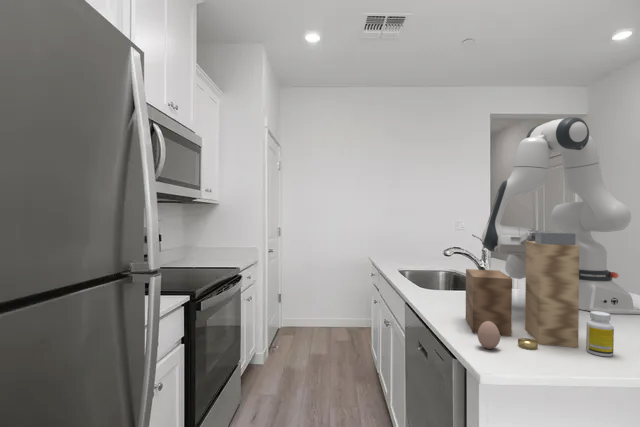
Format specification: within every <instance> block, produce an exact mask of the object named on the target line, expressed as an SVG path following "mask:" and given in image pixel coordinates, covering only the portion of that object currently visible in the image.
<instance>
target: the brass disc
mask: <svg viewBox="0 0 640 427" xmlns="http://www.w3.org/2000/svg"><path fill="white" fill-rule="evenodd" d="M538 344H539V343H538V342H537V341H536V340H535V339H534V338H527V337H520V338H518V339H517V346H518V347H519V349H520V348H521V349H524V350H529V351H536V350H538V349H539V345H538Z"/></svg>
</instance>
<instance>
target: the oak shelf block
mask: <svg viewBox="0 0 640 427" xmlns="http://www.w3.org/2000/svg"><path fill="white" fill-rule="evenodd" d="M524 299H525V300H524V301H525V304H524V306H525V307H524V310H525V311H524V312H525V313H524V314H525V315H524V318H525V319H524V330H525V331H526V333H528V334H529V335H530V337H531V338H532V339H533V340H536V341H537V342H538V344H539V345H547V346H558V347H566V348H567V347H570V348H579V329H580V328H579V322H580V321H579V317H580V316H579V314H580V309H579V245H547V244H537V243H535V241H526V277H525V298H524Z"/></svg>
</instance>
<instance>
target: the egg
mask: <svg viewBox="0 0 640 427" xmlns="http://www.w3.org/2000/svg"><path fill="white" fill-rule="evenodd" d="M477 340H478V342H479V343H480V345H481V346H482V347H483V348H485V349H487V350H493V349H495V348H496V347H497V346H498V345H499V343H500V341H501V336H500V333H499V330H498V328H497V327H496V325H495V324H494V323H492V322H490V321H486V322H484V323H482V324H481V326H480V327H479V330H478V334H477Z"/></svg>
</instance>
